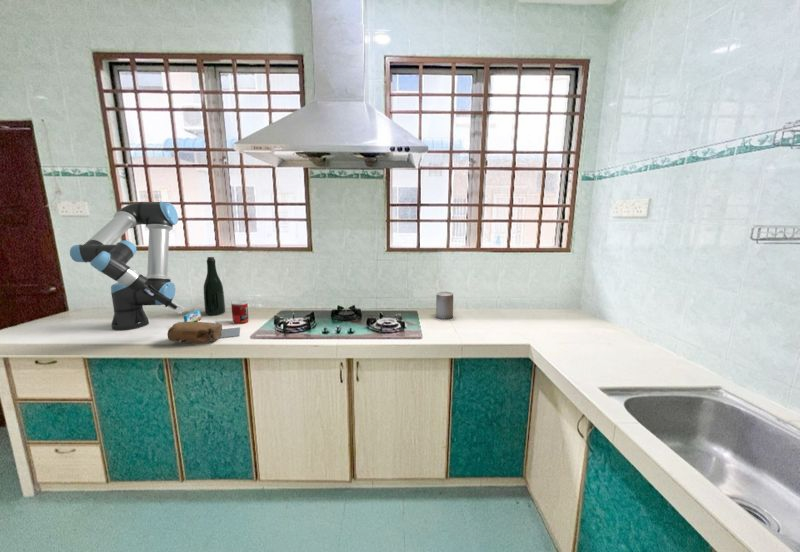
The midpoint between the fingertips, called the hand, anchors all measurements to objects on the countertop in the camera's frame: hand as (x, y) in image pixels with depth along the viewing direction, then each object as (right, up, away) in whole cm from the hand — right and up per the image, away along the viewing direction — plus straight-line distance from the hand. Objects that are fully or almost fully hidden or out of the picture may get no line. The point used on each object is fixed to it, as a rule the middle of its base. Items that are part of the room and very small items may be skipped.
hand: (182, 311), depth 161 cm
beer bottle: (-5, -5, +39) cm, 40 cm away
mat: (+12, -12, +4) cm, 17 cm away
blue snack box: (-7, -9, +21) cm, 23 cm away
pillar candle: (+127, -7, +37) cm, 132 cm away
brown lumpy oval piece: (-1, -9, -5) cm, 10 cm away
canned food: (+16, -8, +24) cm, 30 cm away
